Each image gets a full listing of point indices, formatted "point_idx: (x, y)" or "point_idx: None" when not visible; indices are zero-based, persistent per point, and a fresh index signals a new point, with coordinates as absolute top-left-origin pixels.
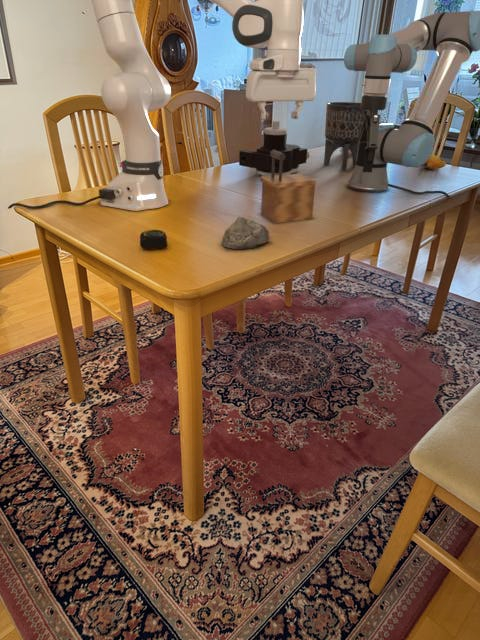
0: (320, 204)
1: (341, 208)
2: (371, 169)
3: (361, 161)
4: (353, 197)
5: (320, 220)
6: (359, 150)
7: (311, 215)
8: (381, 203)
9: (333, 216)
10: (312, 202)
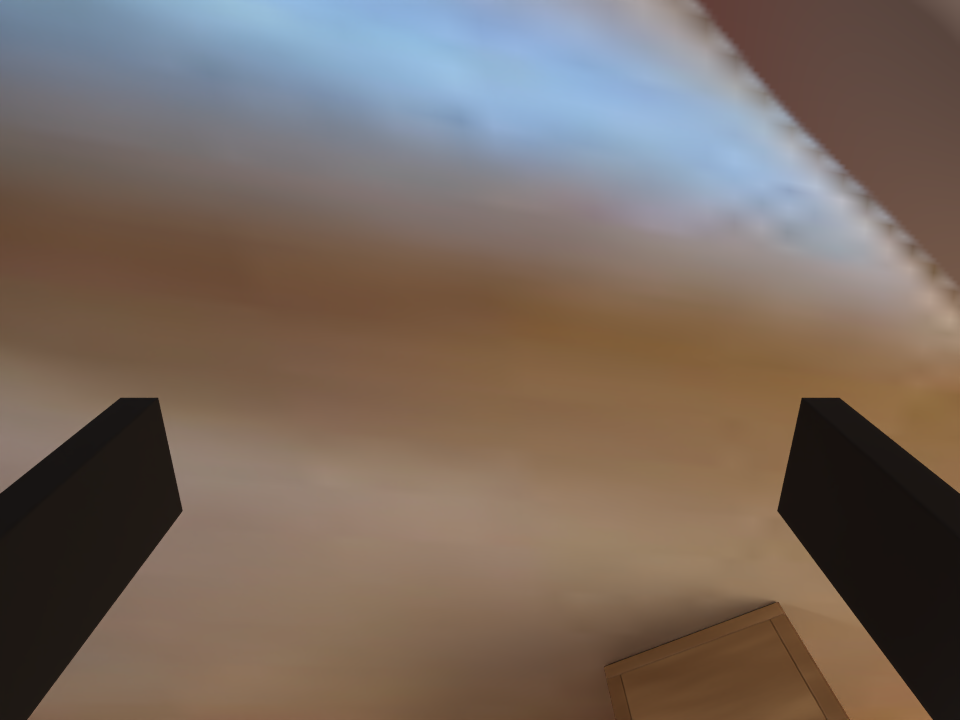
0: (444, 538)
1: (526, 413)
2: (864, 428)
3: (156, 469)
4: (164, 281)
5: (811, 559)
6: (54, 660)
7: (789, 621)
8: (301, 34)
9: (728, 481)
10: (835, 696)
